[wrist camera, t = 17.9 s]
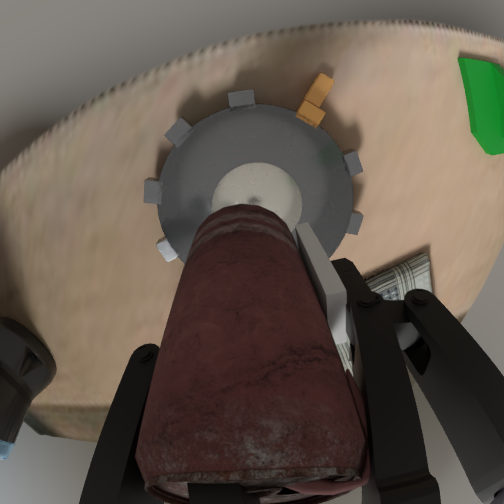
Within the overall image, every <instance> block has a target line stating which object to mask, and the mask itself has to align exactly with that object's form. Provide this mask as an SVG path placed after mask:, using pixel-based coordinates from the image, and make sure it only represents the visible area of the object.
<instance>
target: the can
mask: <svg viewBox="0 0 504 504" xmlns="http://www.w3.org/2000/svg"><path fill="white" fill-rule="evenodd" d="M368 446H369V444H368V434H367V424H366V415H365V407H364V401H363V396H362V393H361V392H360V390H359V388H358V386H357V384H356V382H355V380H354V378H353V376H352V374H351V372H350V370H349V369H346V372H345V369H344V366H343V363H342V361H341V358H340V355H339V352H338V349H337V347H336V344H335V341H334V338H333V336H332V333H331V330H330V328H329V325H328V322H327V320H326V317H325V314H324V312H323V309H322V307H321V304H320V301H319V299H318V296H317V294H316V291H315V289H314V286H313V284H312V281H311V279H310V276H309V274H308V271H307V269H306V266H305V264H304V261H303V259H302V256H301V254H300V252H299V249H298V247H297V244H296V242H295V240H294V237H293V235H292V233H291V231H290V230H289V228H288V226H287V224H286V223H285V222H284V221H283V220H282V219H281V218H280V217H279V216H278V215H277V214H276V213H274V212H272V211H270V210H268V209H266V208H263V207H261V206H259V205H250V204H236V205H232V206H227V207H223V208H221V209H220V210H218V211H216V212H214V213H212V214H211V215H209V216H208V217H207V218H206V219H205V220H204V222H203V223H202V224H201V225H200V226H199V227H198V229H197V232H196V234H195V237H194V239H193V241H192V244H191V247H190V250H189V253H188V256H187V259H186V262H185V265H184V269H183V272H182V275H181V278H180V281H179V284H178V288H177V291H176V294H175V297H174V301H173V304H172V307H171V311H170V314H169V317H168V321H167V324H166V328H165V331H164V335H163V339H162V342H161V346H160V350H159V353H158V357H157V361H156V365H155V369H154V373H153V377H152V381H151V385H150V389H149V393H148V397H147V402H146V406H145V410H144V415H143V419H142V424H141V429H140V434H139V438H138V443H137V449H136V454H135V459H136V461H137V464H138V467H139V469H140V472H141V474H142V477H143V479H144V481H145V487H144V490H145V491H146V492H147V493H148V494H149V495H150V496H152V497H155V498H157V499H159V500H161V501H163V502H166V503H170V504H190V502H189V495H188V487H187V483H240V484H241V485H242V486H245V487H246V488H247V489H248V490H250V491H246V492H247V493H253V494H255V495H256V496H257V497H256V498H259V499H260V502H261V504H319V503H323V502H326V501H329V500H332V499H335V498H337V497H340V496H342V495H344V494H347V493H349V492H350V491H352V490H354V489H356V488H358V487H361V486H364V485H365V484H366V483H367V482H368V480H369V477H370V460H369V447H368ZM364 466H365V468H364ZM363 469H364V470H363Z"/></svg>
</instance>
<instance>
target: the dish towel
mask: <svg viewBox="0 0 504 504" xmlns="http://www.w3.org/2000/svg"><path fill="white" fill-rule="evenodd" d="M429 265H430V260H429V259H428V255H427V254H426V253H422V254H419V255H417V256H415V257H412V258H410V259H408V260H406V261H405V262H402V263H400V264H398V265H396V266H394V267H392V268H390V269H388V270H386V271H384V272H382V273H379V274H377V275H375V276H373V277H371V278H369V279H367V280H365V282H366V283H367V285H368V286H369V288H370V289H371V291H373V292H377V293H378V294H380V295H381V296H382V297H383V299H385V300H404V296H405V294H406V293H407V292H408V291H410V290H412V289H417V288H418V289H425V290H428V291H430V292H431V293H432V287H431V279H430V269H429ZM336 347H337V349H338V352H339V355H340V358H341V361H342V363H343V366H344V369H345V372H346V369H349V370H350V372H351V374H352V376H353V371H352V364H351V361H349V349H350V340H349V338H348V336H347V342H345V343H341V344H337V345H336Z"/></svg>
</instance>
